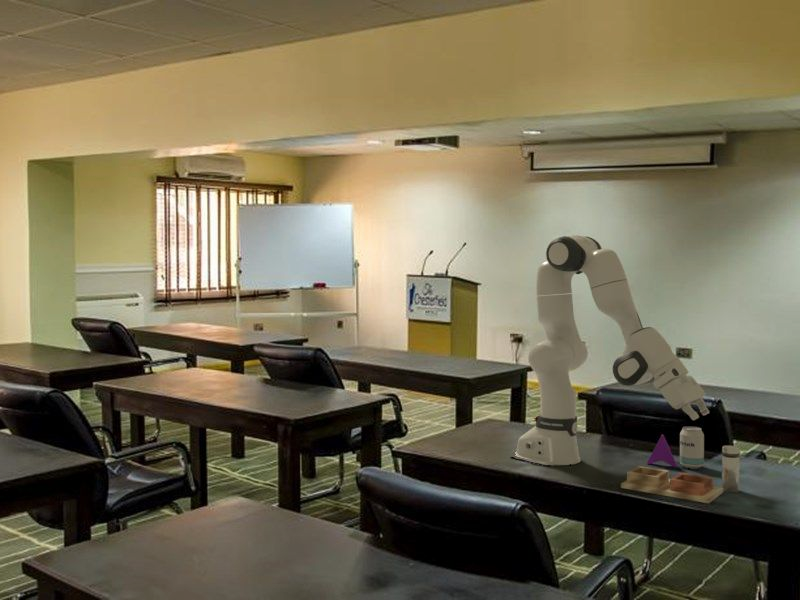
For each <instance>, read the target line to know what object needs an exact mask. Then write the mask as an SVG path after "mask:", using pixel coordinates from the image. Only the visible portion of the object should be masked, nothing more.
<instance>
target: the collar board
mask: <svg viewBox="0 0 800 600" xmlns="http://www.w3.org/2000/svg"><path fill="white" fill-rule="evenodd" d="M620 488H621V489H627V490H631V491H632V490H633V491H637V492H643V493H647V494H648V493H649V494H655V495H661V496H666V497H670V498H676V499H681V500H688V501H693V502H700V503H703V504H710V503H712V502H713V501H714V500H716V498H718V497H719V496H720V495H722V494H723V493H724V491H723V488H722V486H721V487H720V486H715V485H714V478H713V477H712V476H711V477H710V476H703V475H698V474H690V473H686V472H685V473H684V472H679V473H678V474H676V475H675V476H673V477H671V478H670V470H668V469H667V470H666V469H661V468H654V467H647V466H641V465H638V466H636V467H634V468H633V469H631V470H629V471H627V472H626V480H624V481H623V482H621V483H620Z"/></svg>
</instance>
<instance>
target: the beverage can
mask: <svg viewBox="0 0 800 600" xmlns="http://www.w3.org/2000/svg"><path fill="white" fill-rule="evenodd" d="M704 463H705V434H704V431H702V428H701V427H699V426H683V427H682V429H681V431H680V433H679V464H680V465H681V466H682V467H683V468H685V469H688V468H690V469H689V470H699V469H701V468H702V467H703V466H704V465H705V464H704ZM698 468H699V469H698Z"/></svg>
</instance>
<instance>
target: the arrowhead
mask: <svg viewBox="0 0 800 600" xmlns="http://www.w3.org/2000/svg"><path fill="white" fill-rule="evenodd" d="M665 437H666V436H665V435H664V434H661V436H660V438H659V439H658V441H657V443H656V445H655V447H654V449H653V451H652V453H651V455H650V457H649V458H648V460H647V462H646V465H651V464H653V463H657V462H660V461H662V462H664V463H666V464H668V465H669V466H672V467H673V468H676V469H677V468H678V464H677V462H676V460H675V458H674V455H673V453H672V451H671V448H670V447H669V444H668V442H667V439H666V438H665Z"/></svg>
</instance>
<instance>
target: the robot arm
mask: <svg viewBox="0 0 800 600" xmlns="http://www.w3.org/2000/svg"><path fill="white" fill-rule="evenodd" d="M545 257H546V260H545V261H543V262H541V263H540V264H539V266H538V268H537V274H536V285H535V286H536V288H535V289H536V302H537V303H536V306H537V317H538V319H537V320H538V321H539V323H540V324H541V325H542V327H543V329H544V331H545V335H546V338H547V339H545V340H542V341H540V342H538V343H536V344H535V345H533V346H532V347H531V349H530V350H529V353H528V363H529V366H530V368H531V369H532V371H534V373H535V375H536V379H537V382H538V387H539V393H540V414H539V415H537V416H536V417H533V418H532V419H533V423H535V426H533V427H532V428H530V429H529V430H528V431H526V432H525V433H524V434H522V435H521V436H520V437H519V438H518V442H517V445H516V450H517V451H516V452H515V454H516V455H515V456H517V457H520V458H524V459H527V460H530V461H534V462H537V463H541V464H545V465H550V464H551V466H570V464H571V465H576V464H579V463H581V460H582V459H581V455H580V453H579V452H580V451H579V447H578V439H577V434H578V417H577V416H576V414H577V393H576V390H575V389H574V388H573V386H572V383H571V380H570V374H569V371H575V370H576V369H578V368H580V367H581V366H582V365H584V363H586V361H587V358H588V348H587V345H586V344H585V342H584V341H583V340H582V339H581V337H580V334H579V331H578V328H577V327H578V326H577V325H576V320H575V315H574V314H575V313H574V303H573V302H574V301H573V290H572V278H573V277H574V275H575V274H576V275H580V274H582V273H583V274H584V275H585V276H586V277H587V281H588V285H589V289H590V292H591V296H592V298H593V301H594V304H595V306H596V307H597V310H599V311H600V313H602V314H604V315H606V316H608V317H609V318H611V319H612V320H613V321H615V323H617V325H618V326H619V328H620V330H621V334H622V336H623V340H624V342H625V347H624V349H623V351H622V352H621V353H620V355H619V356H618V357H617V358H616V359H615V361H613V364H612V375H613V376H614V378H615V380H616V381H617V382H618V383H619V384H620V385H622V386H629V387H631V386H638V385H641V384H644V385H645V384H650V383H652V384H653V387H654V388H655V389H656V390H659V391H660V394H661V396H662V397H663V398H664V399H665V400H666V402H667V403H668V404H669V406H670V407H672V408H673V409H674V410H679V409H681V411H683V412H684V413H685V414H686V415H688V416H689V418H690V419H691V420H692V421H696V420H697V419H699V418H700V416H699V414H698V412H697V411H695V410H694V409H693V408H692V405H691V404H695V405H696V406H697V407H698V409H699V412H700V413H701V415H702V416H706V415H708V414H710V410H709V409H708V407H707V405H706V403H705V400H704V399H703V398H704V397H706V396H707V394H706V392H705V390H704V389H703V388H702V387H701V385H700V384H699V383H698V382H697V381H696V379H695V378H694V377H693V376H692V375H688V374H689V371H688V369H687V368H686V366H685V365H684V363H683V361H682V360H680V358H679V357H678V356H677V355H676V354H675V353H674V351H672V348H671V346H670V344H669V343H668V342H667V340H666V339H665V338H664V337H663V336H662V334H661V333H660V332H659V331H658V330H657V329H655V328H654V327H652V326H651V327H650V326H647V327H643V324H642V322H641V318H640V316H639V314H638V313H639V312H638V310H637V308H636V305H635V302H634V300H633V296H632V293H631V289H630V286H629V282H628V278H627V275H626V272H625V269H624V267H623V265H622V262H621V261H620V258H619V256H618V255H617V252H616V251H615V250H612V249H610V248H602V246H601V245H600V243H599V242H598V241H597V240H596V239H594V238H593V237H590V236H584V235H570V236H565V235H564V236H563V235H562V236H559V237H556V238H554V239H553V240H552V241H551V242H549V244H548V246H547V248H546V252H545ZM555 464H556V465H555Z"/></svg>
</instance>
